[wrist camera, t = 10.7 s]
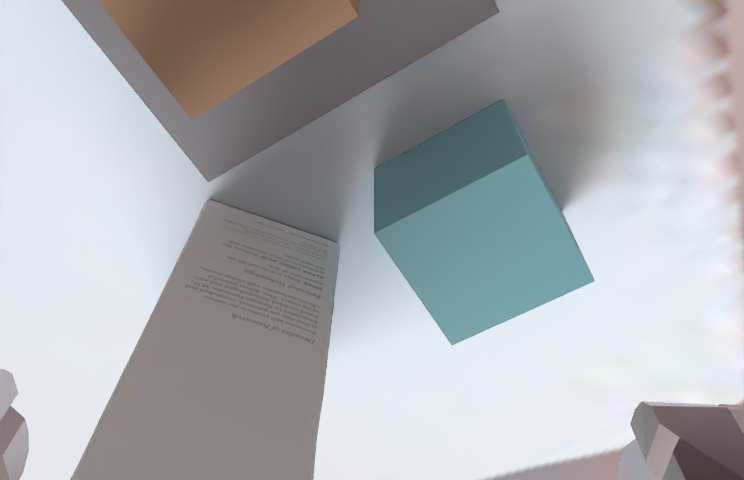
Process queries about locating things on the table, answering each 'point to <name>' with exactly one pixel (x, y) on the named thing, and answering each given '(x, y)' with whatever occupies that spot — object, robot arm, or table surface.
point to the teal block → (476, 225)
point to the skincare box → (226, 360)
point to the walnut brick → (222, 40)
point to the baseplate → (289, 75)
